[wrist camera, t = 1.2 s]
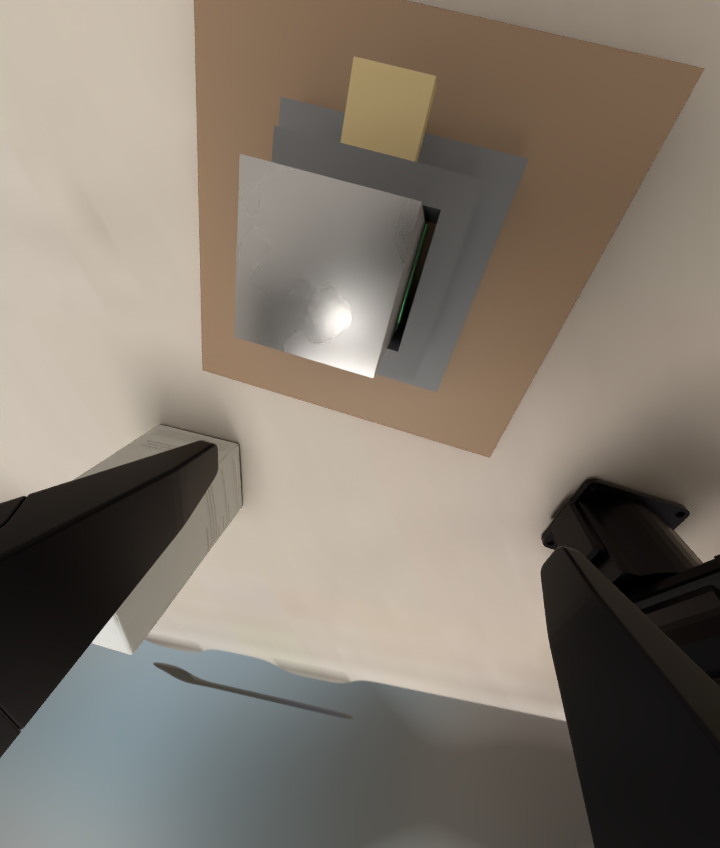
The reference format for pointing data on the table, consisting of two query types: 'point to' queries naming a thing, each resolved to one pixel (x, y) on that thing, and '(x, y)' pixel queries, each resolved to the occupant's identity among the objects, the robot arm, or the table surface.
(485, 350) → the tan base plate
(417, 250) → the block
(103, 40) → the table surface
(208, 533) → the supplement box
